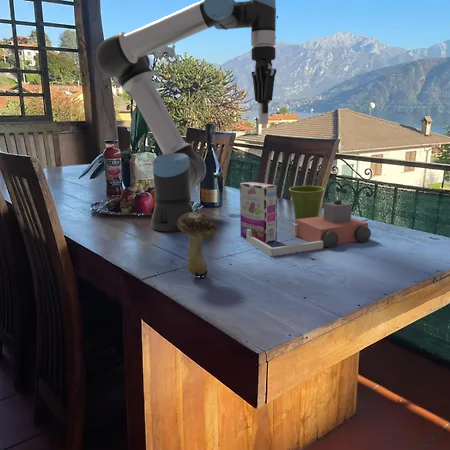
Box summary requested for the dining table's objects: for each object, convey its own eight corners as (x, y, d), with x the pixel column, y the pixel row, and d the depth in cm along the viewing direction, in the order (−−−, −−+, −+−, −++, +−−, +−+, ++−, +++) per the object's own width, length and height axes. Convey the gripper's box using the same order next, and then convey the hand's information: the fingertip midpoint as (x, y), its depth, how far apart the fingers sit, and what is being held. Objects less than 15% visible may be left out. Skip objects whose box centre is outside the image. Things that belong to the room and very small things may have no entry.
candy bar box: (277, 240, 131) (278, 185, 127) (265, 244, 128) (265, 187, 124) (252, 233, 140) (251, 180, 136) (239, 236, 137) (239, 182, 133)
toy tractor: (271, 256, 117) (271, 215, 114) (244, 240, 132) (244, 203, 129) (371, 241, 129) (373, 203, 126) (336, 227, 144) (337, 193, 141)
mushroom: (179, 271, 108) (176, 210, 105) (215, 269, 109) (214, 208, 105) (179, 286, 99) (176, 219, 95) (218, 284, 100) (216, 218, 96)
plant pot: (297, 215, 161) (298, 184, 158) (329, 219, 154) (330, 187, 151) (281, 223, 151) (282, 189, 149) (314, 227, 145) (315, 193, 142)
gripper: (284, 44, 137) (283, 124, 143) (264, 49, 149) (264, 123, 155) (262, 43, 134) (262, 124, 140) (243, 49, 146) (244, 123, 152)
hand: (263, 123), depth 147 cm, fingers closed
